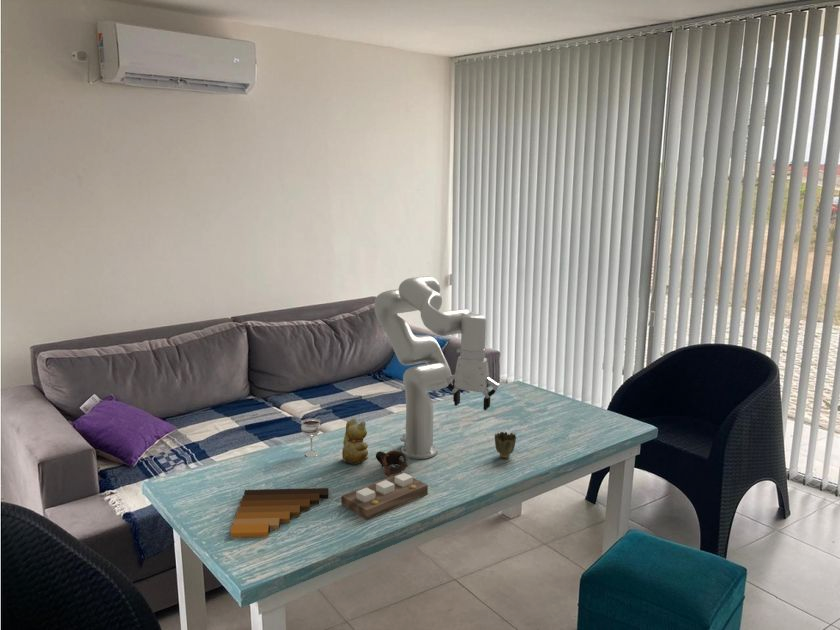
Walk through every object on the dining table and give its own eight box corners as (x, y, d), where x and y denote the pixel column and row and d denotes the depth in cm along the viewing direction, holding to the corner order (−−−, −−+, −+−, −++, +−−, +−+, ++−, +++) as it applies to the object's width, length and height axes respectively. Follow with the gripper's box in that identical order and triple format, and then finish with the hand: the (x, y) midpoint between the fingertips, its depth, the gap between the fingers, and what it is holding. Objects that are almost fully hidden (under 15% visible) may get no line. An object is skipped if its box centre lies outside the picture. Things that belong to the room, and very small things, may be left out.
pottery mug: (412, 468, 236) (413, 453, 230) (399, 489, 229) (399, 475, 224) (381, 454, 239) (381, 439, 234) (367, 474, 233) (367, 460, 227)
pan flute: (328, 495, 216) (246, 497, 214) (328, 485, 215) (245, 487, 213) (323, 537, 192) (230, 540, 190) (323, 526, 191) (230, 528, 189)
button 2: (394, 484, 217) (394, 476, 217) (404, 480, 220) (404, 472, 219) (403, 488, 214) (403, 480, 214) (412, 484, 217) (412, 476, 216)
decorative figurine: (372, 461, 240) (372, 419, 237) (357, 469, 233) (357, 426, 230) (350, 454, 245) (350, 413, 242) (335, 462, 238) (334, 420, 235)
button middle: (375, 491, 212) (375, 483, 212) (385, 487, 215) (385, 479, 214) (384, 496, 209) (384, 488, 209) (394, 491, 212) (394, 484, 211)
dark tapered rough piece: (490, 458, 242) (491, 437, 241) (498, 451, 249) (499, 430, 247) (510, 463, 239) (511, 441, 237) (518, 455, 245) (519, 434, 244)
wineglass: (320, 458, 242) (319, 425, 239) (300, 458, 242) (299, 425, 239) (322, 450, 248) (321, 418, 246) (303, 450, 248) (302, 418, 246)
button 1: (356, 499, 207) (356, 491, 206) (366, 495, 210) (366, 487, 209) (364, 504, 204) (364, 496, 204) (375, 499, 207) (375, 491, 206)
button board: (341, 505, 209) (341, 495, 208) (401, 481, 225) (401, 471, 224) (366, 519, 200) (366, 509, 199) (427, 493, 216) (427, 484, 216)
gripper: (442, 353, 217) (441, 406, 221) (495, 360, 210) (494, 414, 214) (451, 348, 224) (450, 399, 227) (503, 354, 217) (501, 407, 220)
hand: (471, 406), depth 221 cm, fingers open, 9 cm apart
